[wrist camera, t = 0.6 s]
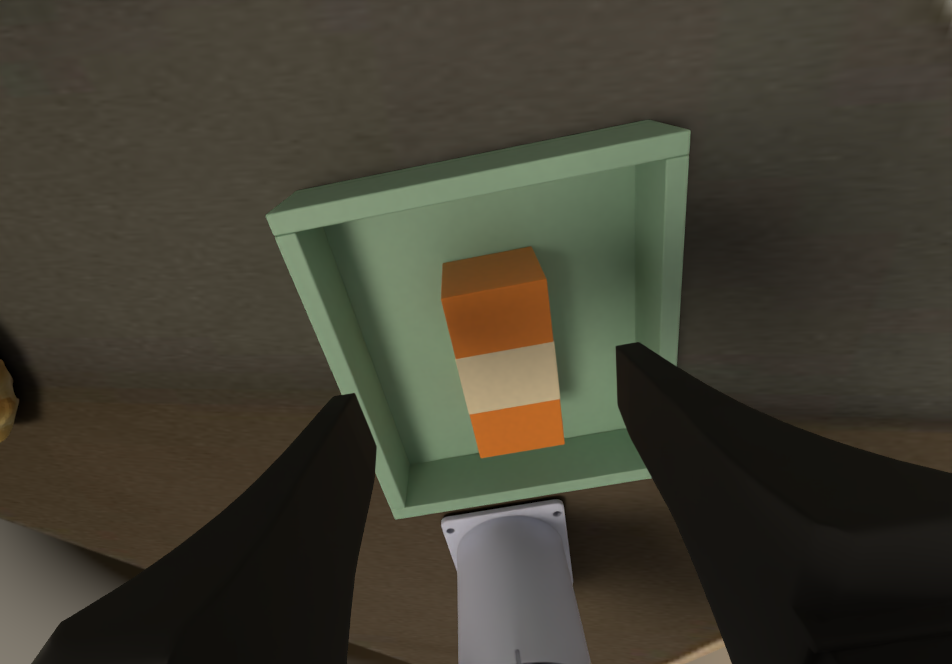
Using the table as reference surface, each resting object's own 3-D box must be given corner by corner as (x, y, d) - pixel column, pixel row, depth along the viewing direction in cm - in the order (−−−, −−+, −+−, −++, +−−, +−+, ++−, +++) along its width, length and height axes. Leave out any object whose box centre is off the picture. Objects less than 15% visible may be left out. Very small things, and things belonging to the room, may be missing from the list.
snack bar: (550, 395, 24) (565, 445, 21) (476, 408, 24) (479, 459, 21) (532, 245, 19) (547, 279, 16) (441, 262, 20) (439, 299, 17)
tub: (644, 427, 26) (670, 475, 23) (401, 468, 27) (394, 520, 24) (649, 119, 18) (691, 129, 15) (295, 190, 18) (264, 215, 15)
